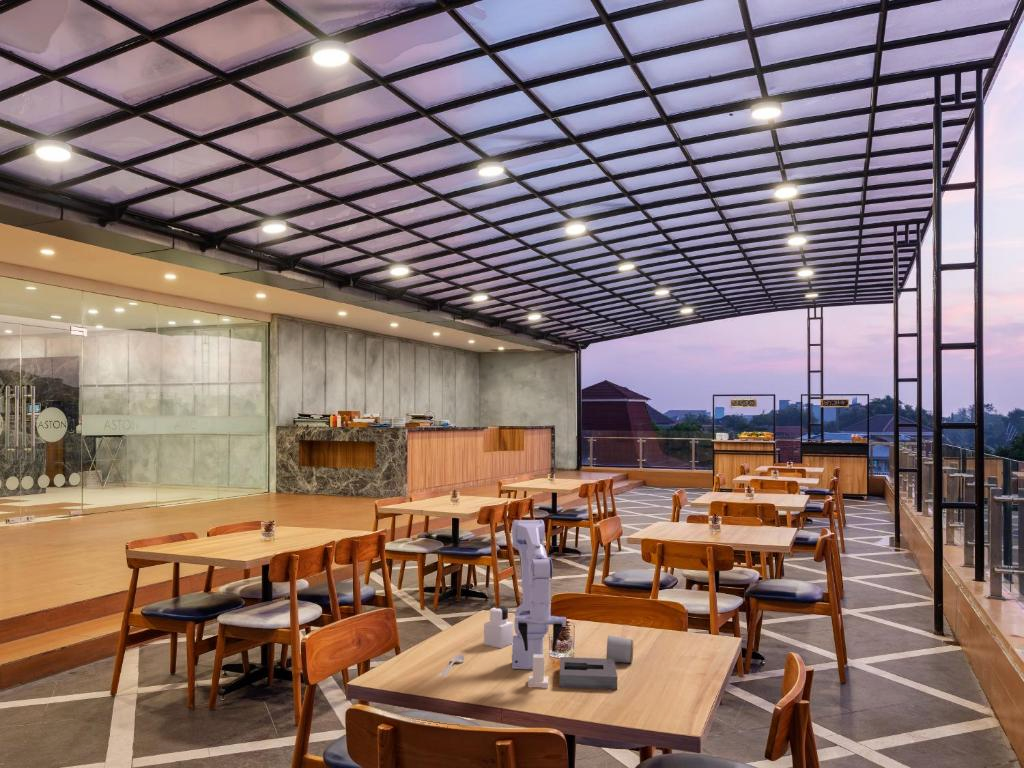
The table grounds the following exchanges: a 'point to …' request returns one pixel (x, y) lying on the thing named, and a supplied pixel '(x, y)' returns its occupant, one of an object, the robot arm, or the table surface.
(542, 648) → the robot arm
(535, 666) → the peg
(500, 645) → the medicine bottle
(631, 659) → the ceramic mug
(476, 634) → the table surface
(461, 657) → the spoon
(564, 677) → the keyhole plate
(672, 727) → the table surface
